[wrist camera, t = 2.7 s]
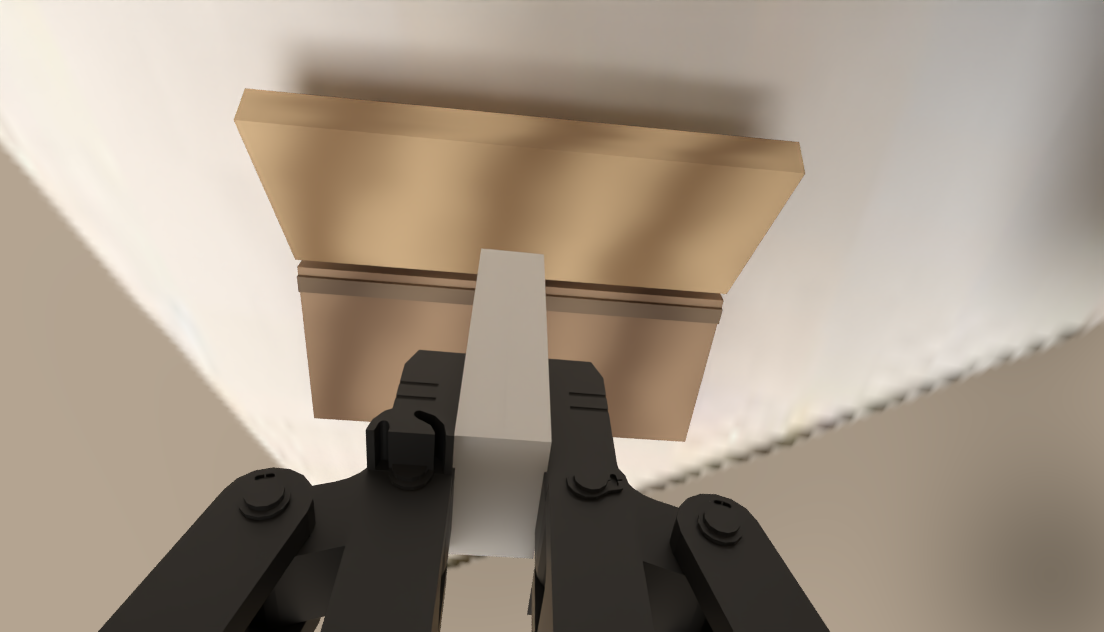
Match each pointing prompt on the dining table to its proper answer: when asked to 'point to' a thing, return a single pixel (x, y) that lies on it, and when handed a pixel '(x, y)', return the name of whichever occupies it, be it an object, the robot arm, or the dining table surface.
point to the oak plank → (514, 190)
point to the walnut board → (443, 325)
